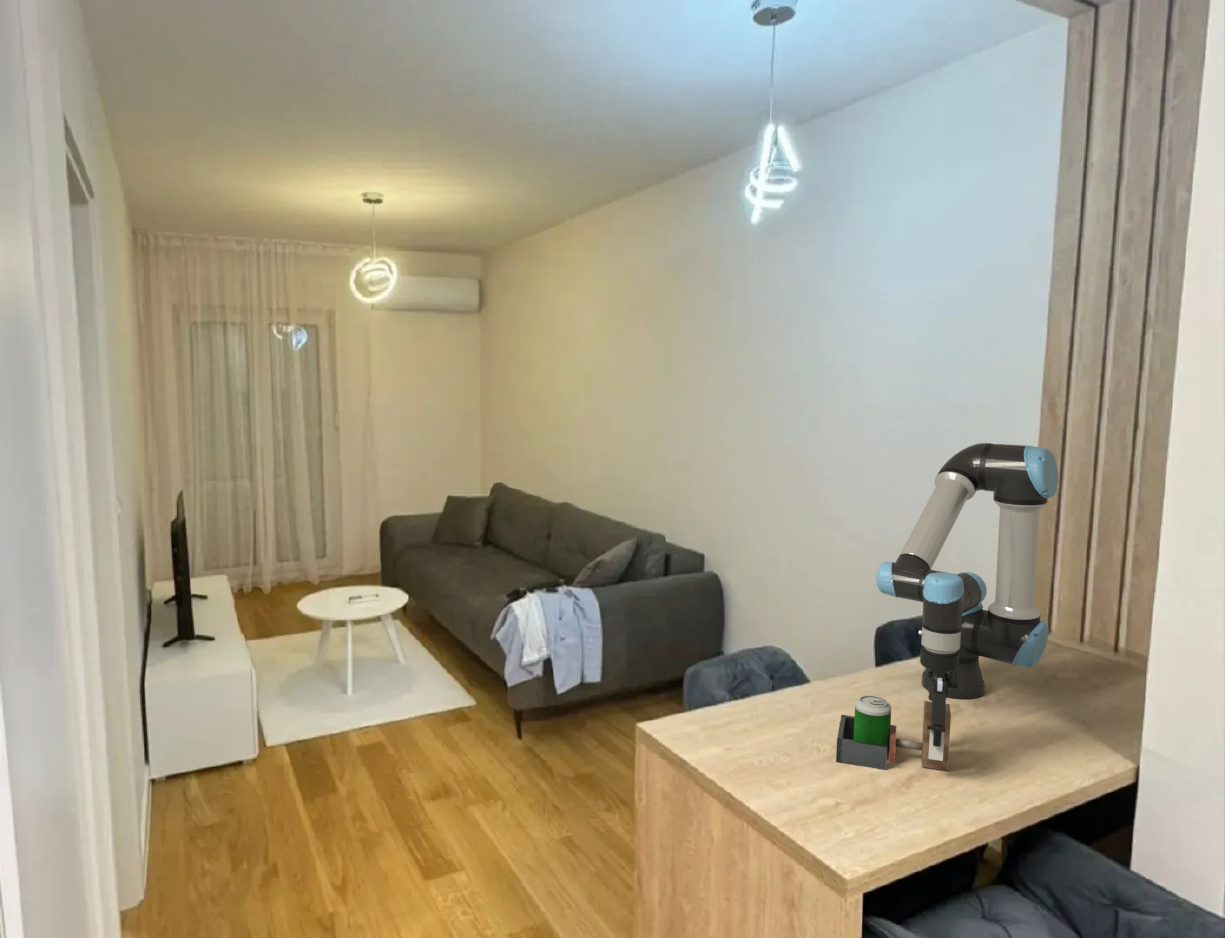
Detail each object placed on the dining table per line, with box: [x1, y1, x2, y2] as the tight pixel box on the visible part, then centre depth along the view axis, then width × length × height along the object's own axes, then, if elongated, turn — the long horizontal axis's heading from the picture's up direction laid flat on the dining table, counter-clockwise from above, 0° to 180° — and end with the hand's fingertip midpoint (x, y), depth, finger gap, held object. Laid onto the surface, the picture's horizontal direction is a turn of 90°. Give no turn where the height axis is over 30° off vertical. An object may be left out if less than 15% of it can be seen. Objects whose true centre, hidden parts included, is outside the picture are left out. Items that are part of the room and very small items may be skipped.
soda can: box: [853, 695, 892, 755], centre depth 176 cm, size 8×8×12 cm
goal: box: [835, 714, 888, 771], centre depth 177 cm, size 10×13×5 cm
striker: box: [888, 700, 952, 772], centre depth 172 cm, size 12×7×12 cm, turn 70°
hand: (934, 744), depth 172 cm, fingers open, 13 cm apart
